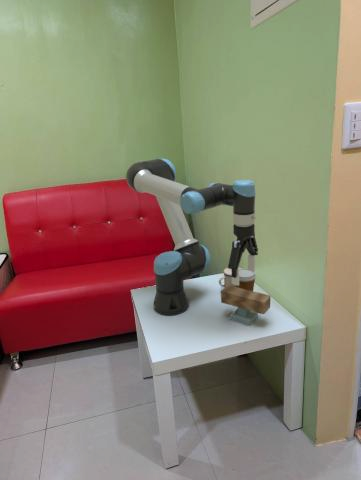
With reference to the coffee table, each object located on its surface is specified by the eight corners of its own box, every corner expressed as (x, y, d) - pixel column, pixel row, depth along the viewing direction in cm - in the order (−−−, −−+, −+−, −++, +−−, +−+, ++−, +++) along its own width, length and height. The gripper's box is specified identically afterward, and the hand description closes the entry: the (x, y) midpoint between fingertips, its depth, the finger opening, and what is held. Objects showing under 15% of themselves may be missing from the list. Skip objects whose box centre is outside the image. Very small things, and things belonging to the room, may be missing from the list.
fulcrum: (230, 320, 138) (230, 306, 136) (239, 310, 144) (239, 297, 142) (249, 325, 133) (249, 311, 131) (258, 315, 140) (258, 302, 138)
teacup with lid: (237, 282, 168) (236, 260, 164) (247, 290, 160) (247, 267, 156) (214, 288, 164) (214, 265, 160) (224, 296, 156) (223, 272, 152)
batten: (221, 302, 139) (220, 291, 138) (228, 296, 144) (228, 285, 142) (263, 314, 129) (264, 302, 128) (270, 307, 134) (270, 295, 132)
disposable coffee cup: (256, 303, 149) (256, 277, 145) (233, 302, 151) (232, 277, 147) (256, 292, 157) (256, 268, 154) (234, 292, 159) (234, 268, 156)
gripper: (237, 235, 114) (237, 293, 122) (267, 216, 133) (266, 267, 140) (217, 232, 119) (218, 288, 126) (249, 214, 138) (248, 263, 145)
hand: (243, 277), depth 133 cm, fingers open, 13 cm apart
